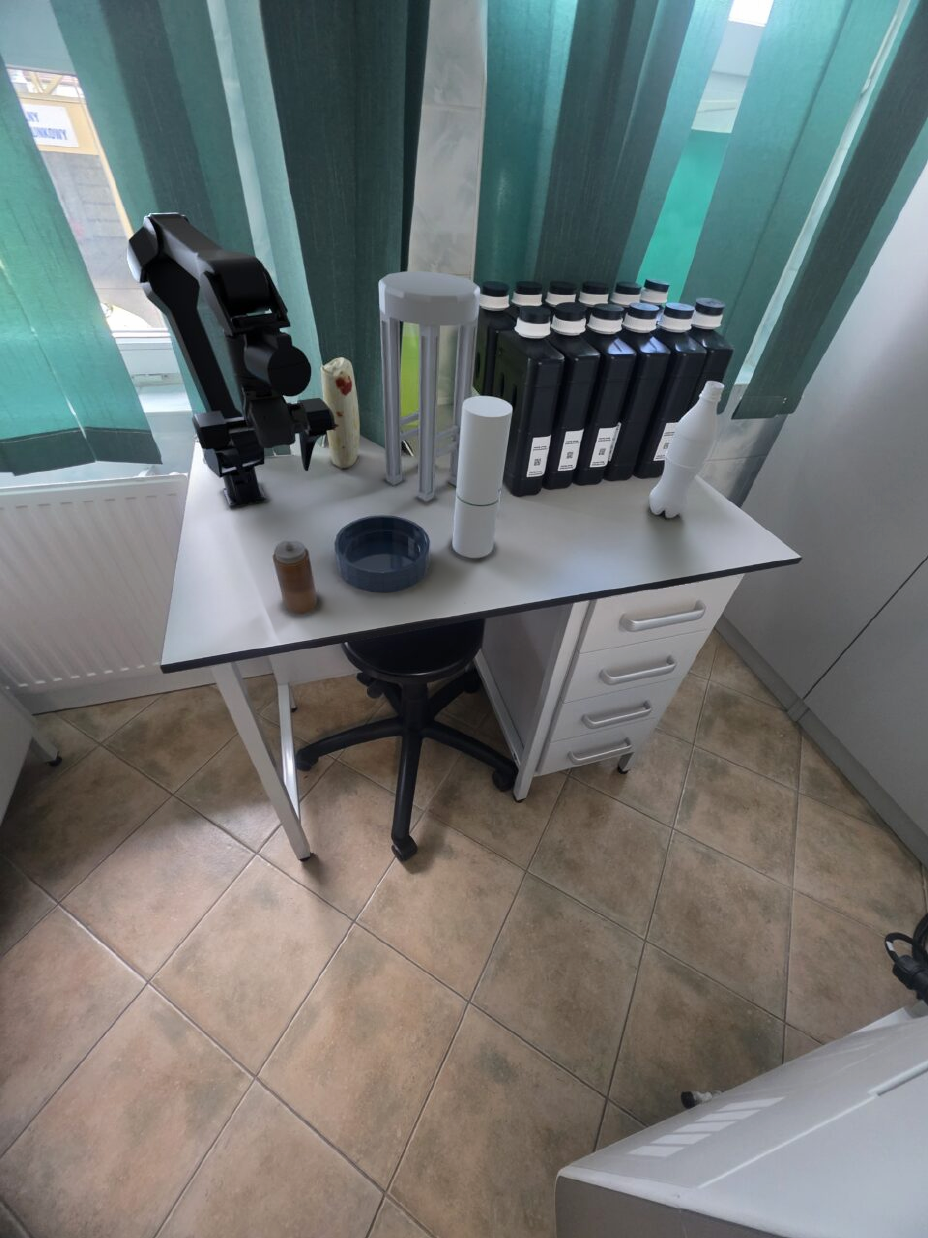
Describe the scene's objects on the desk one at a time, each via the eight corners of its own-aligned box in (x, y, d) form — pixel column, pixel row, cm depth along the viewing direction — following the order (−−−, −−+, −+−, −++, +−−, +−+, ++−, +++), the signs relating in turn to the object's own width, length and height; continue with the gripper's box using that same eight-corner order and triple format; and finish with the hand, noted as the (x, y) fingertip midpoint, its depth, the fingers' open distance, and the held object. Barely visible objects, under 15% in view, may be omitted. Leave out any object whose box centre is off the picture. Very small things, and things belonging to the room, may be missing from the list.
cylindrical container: (497, 541, 91) (518, 402, 74) (485, 564, 86) (504, 420, 69) (460, 531, 93) (471, 392, 75) (446, 553, 88) (455, 410, 70)
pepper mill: (288, 593, 78) (274, 531, 70) (320, 594, 78) (309, 532, 70) (281, 615, 75) (265, 552, 66) (314, 616, 75) (302, 554, 67)
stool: (478, 483, 105) (499, 286, 80) (426, 511, 96) (431, 300, 72) (425, 456, 112) (429, 266, 87) (371, 480, 103) (359, 276, 78)
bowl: (324, 549, 86) (321, 527, 83) (406, 528, 92) (406, 507, 89) (356, 605, 77) (354, 583, 74) (444, 578, 83) (446, 557, 80)
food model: (359, 473, 104) (350, 371, 90) (326, 471, 104) (312, 369, 90) (364, 450, 111) (357, 353, 97) (333, 449, 111) (322, 350, 97)
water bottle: (643, 514, 101) (692, 386, 84) (647, 497, 106) (695, 373, 88) (679, 524, 100) (737, 396, 82) (682, 507, 105) (737, 382, 87)
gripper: (189, 403, 60) (224, 515, 71) (342, 384, 67) (352, 489, 78) (176, 369, 66) (209, 477, 77) (316, 356, 74) (328, 456, 85)
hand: (276, 475), depth 79 cm, fingers open, 9 cm apart
